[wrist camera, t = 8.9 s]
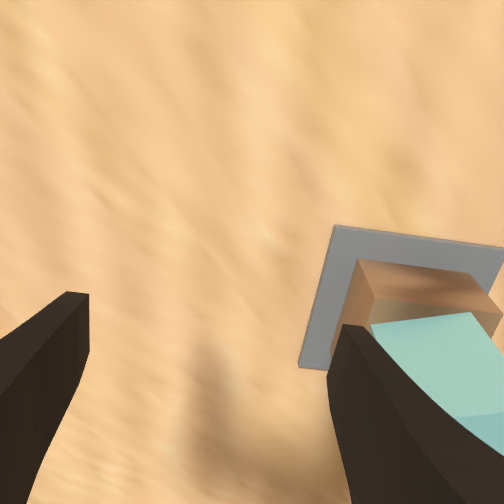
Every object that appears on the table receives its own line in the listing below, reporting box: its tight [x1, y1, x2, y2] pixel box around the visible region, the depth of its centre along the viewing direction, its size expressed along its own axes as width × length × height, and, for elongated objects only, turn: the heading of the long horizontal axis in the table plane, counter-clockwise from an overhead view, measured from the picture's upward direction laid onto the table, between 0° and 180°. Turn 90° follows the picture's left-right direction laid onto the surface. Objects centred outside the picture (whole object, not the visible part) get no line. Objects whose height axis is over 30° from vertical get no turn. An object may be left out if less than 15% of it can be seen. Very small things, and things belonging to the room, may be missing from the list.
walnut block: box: [330, 258, 503, 357], centre depth 24 cm, size 6×6×4 cm
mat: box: [298, 225, 504, 370], centre depth 25 cm, size 9×9×1 cm
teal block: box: [370, 312, 504, 456], centre depth 20 cm, size 4×4×6 cm
